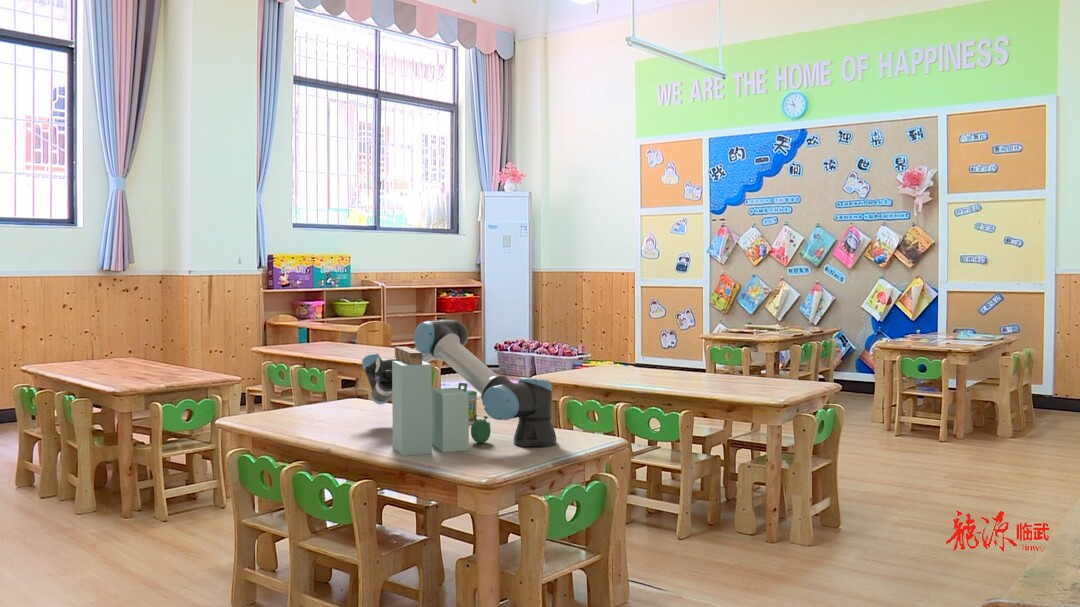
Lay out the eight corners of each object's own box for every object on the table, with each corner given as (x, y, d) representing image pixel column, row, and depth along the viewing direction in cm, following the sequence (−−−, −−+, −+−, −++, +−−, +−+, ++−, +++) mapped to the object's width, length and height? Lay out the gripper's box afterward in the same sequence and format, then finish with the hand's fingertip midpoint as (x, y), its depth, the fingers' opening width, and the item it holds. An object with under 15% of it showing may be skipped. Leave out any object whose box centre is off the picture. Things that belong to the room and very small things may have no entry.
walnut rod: (422, 364, 295) (422, 352, 295) (410, 365, 293) (410, 353, 293) (406, 357, 317) (405, 346, 317) (394, 358, 316) (394, 346, 316)
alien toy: (494, 441, 317) (494, 413, 317) (485, 445, 310) (484, 417, 310) (477, 440, 320) (477, 412, 320) (467, 444, 313) (467, 415, 312)
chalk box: (445, 419, 363) (445, 383, 363) (461, 416, 370) (461, 381, 370) (461, 422, 357) (461, 385, 357) (477, 418, 365) (477, 383, 364)
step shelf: (469, 450, 302) (468, 362, 300) (402, 455, 293) (401, 365, 292) (456, 442, 316) (456, 358, 315) (392, 447, 308) (391, 360, 306)
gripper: (420, 390, 344) (431, 370, 326) (355, 393, 335) (363, 372, 317) (418, 372, 347) (429, 351, 329) (353, 374, 338) (362, 352, 320)
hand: (397, 361), depth 323 cm, fingers open, 13 cm apart
